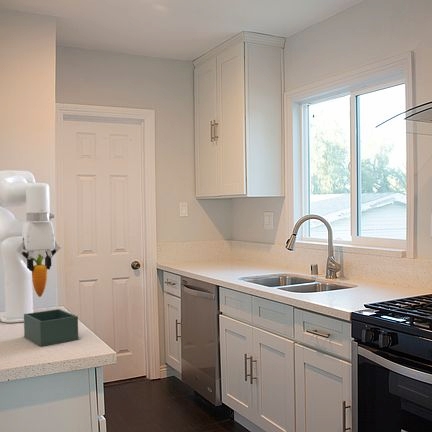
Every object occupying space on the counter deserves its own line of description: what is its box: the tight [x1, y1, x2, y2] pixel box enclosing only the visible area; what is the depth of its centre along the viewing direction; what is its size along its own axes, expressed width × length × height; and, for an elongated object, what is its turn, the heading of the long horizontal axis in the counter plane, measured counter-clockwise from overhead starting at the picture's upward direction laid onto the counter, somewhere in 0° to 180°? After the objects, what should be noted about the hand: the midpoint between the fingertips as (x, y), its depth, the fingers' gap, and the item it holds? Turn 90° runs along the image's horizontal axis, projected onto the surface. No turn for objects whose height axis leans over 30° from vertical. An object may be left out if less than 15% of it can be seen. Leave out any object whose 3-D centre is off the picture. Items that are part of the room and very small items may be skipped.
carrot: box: [31, 254, 48, 298], centre depth 190 cm, size 5×5×15 cm
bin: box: [23, 308, 79, 347], centre depth 177 cm, size 17×12×8 cm
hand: (39, 269), depth 190 cm, fingers closed on carrot, 4 cm apart
